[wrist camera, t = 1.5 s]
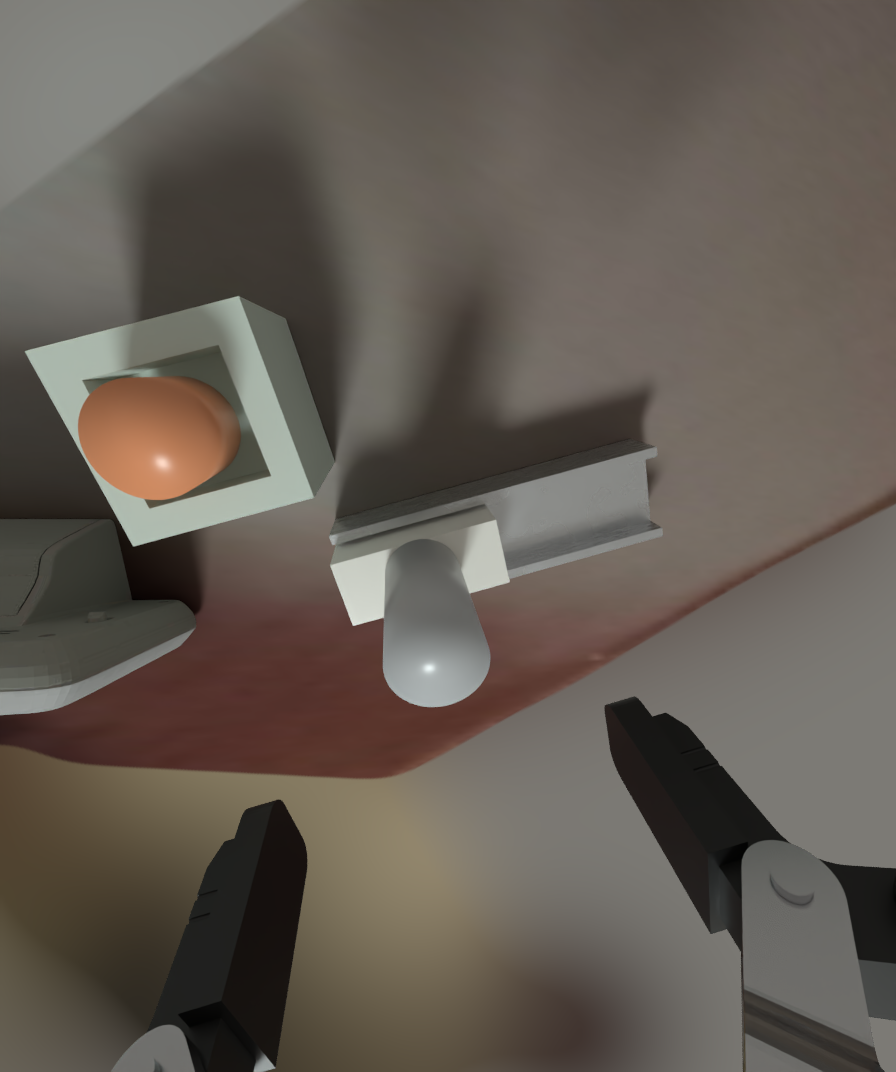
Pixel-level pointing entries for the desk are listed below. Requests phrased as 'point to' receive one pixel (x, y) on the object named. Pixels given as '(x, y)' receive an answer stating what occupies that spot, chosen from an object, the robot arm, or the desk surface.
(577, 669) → the desk surface
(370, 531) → the rail
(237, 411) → the button housing
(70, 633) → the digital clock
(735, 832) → the robot arm
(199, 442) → the button
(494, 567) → the carriage
